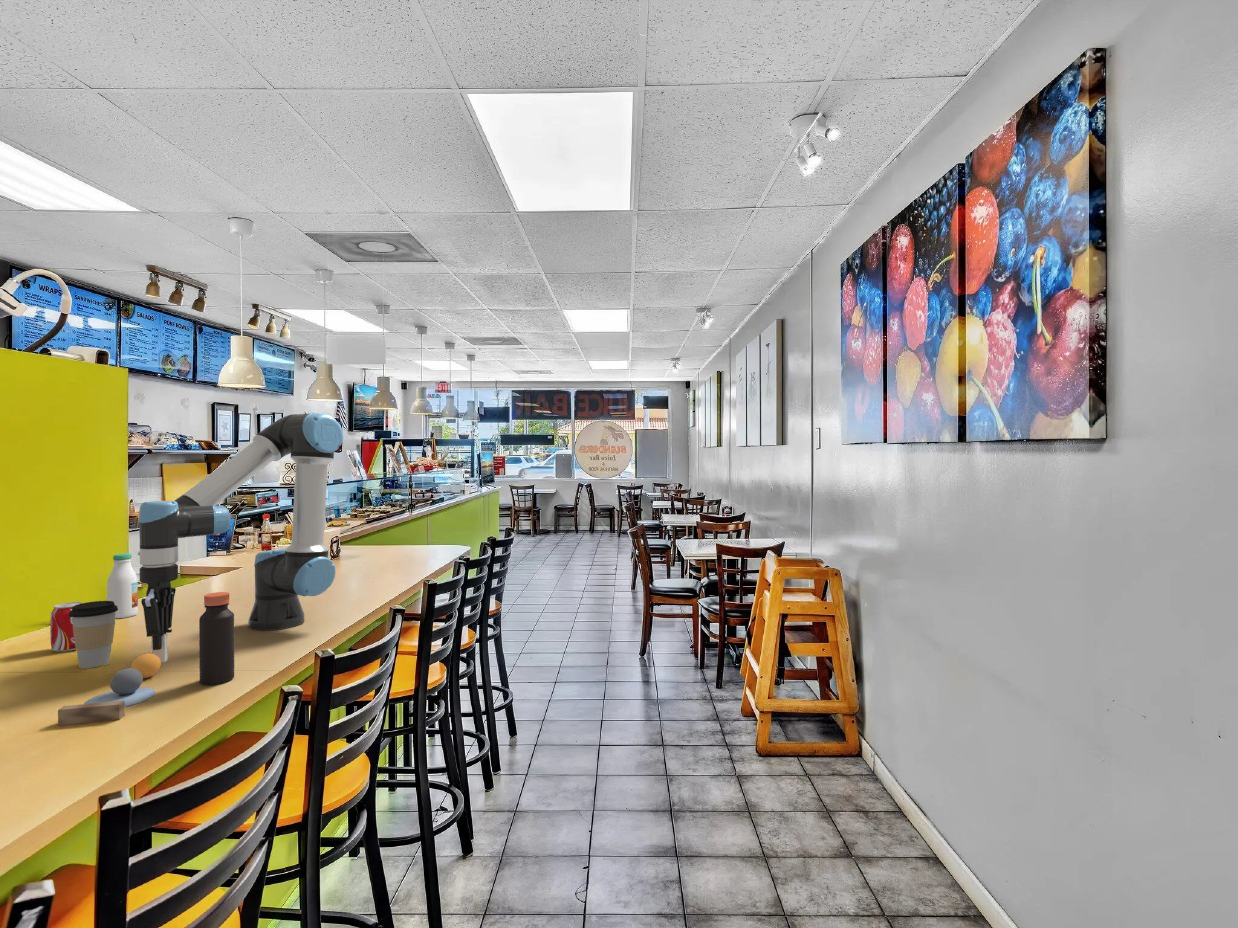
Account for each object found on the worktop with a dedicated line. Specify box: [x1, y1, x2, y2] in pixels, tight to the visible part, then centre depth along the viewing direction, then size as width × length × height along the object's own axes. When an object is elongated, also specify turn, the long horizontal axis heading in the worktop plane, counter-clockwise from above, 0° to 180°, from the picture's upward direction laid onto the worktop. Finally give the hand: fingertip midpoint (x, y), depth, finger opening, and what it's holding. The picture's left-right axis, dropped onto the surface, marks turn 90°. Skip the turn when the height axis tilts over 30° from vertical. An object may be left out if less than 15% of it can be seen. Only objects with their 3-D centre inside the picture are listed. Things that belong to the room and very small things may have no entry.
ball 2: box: [130, 653, 162, 679], centre depth 144 cm, size 6×6×6 cm
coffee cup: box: [68, 600, 118, 669], centre depth 153 cm, size 9×9×15 cm
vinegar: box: [198, 591, 235, 686], centre depth 142 cm, size 7×7×20 cm
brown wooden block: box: [57, 701, 126, 726], centre depth 121 cm, size 10×2×3 cm, turn 106°
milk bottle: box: [106, 552, 139, 620], centre depth 198 cm, size 8×8×20 cm
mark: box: [83, 686, 156, 708], centre depth 132 cm, size 12×12×1 cm
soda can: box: [49, 601, 83, 653], centre depth 165 cm, size 7×7×12 cm
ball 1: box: [110, 667, 144, 695], centre depth 134 cm, size 6×6×6 cm
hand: (159, 661), depth 150 cm, fingers closed
